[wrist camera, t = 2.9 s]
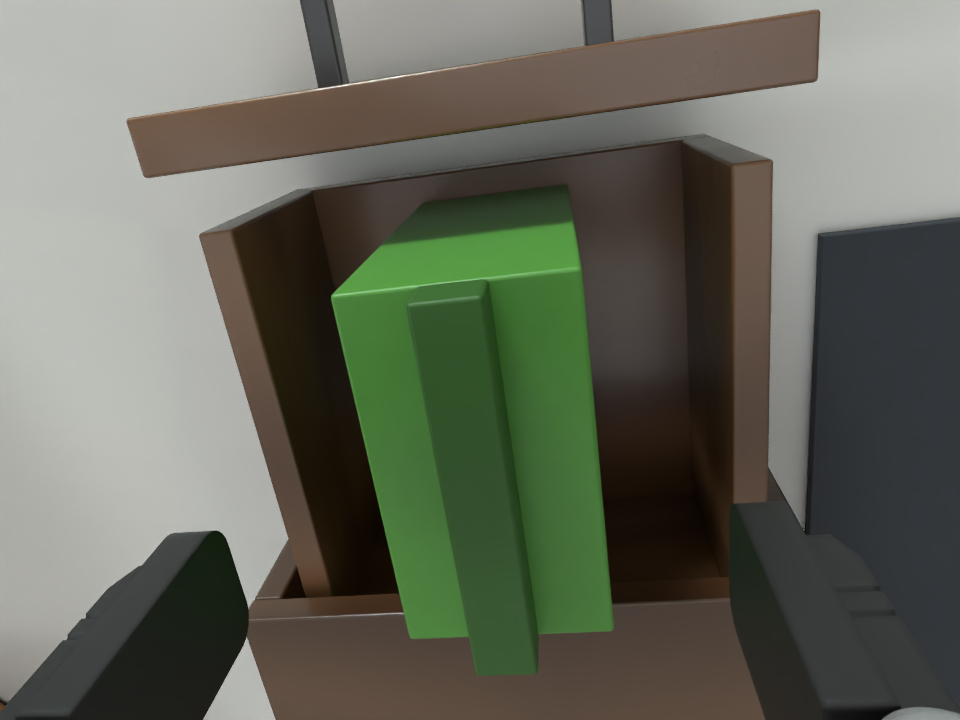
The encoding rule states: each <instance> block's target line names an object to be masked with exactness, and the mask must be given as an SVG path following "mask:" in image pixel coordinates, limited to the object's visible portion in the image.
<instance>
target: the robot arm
mask: <svg viewBox="0 0 960 720" xmlns="http://www.w3.org/2000/svg"><path fill="white" fill-rule="evenodd" d="M729 595H730V604H731V611H732V617H733V621H734V626H735V630H736V633H737V636H738V639H739V642H740V645H741V648H742V651H743V654H744V657H745V660H746V663H747V666H748V669H749V672H750V675H751V678H752V681H753V684H754V687H755V690H756V693H757V696H758V699H759V702H760V705H761V708H762V711H763V714H764V717H765V720H960V709H959V707H958V705H957V704H956V702H955V701H954V699H953V698H952V696H951V695H950V693H949V692H948V690H947V689H946V687H945V685H944V684H943V682H942V681H941V679H940V678H939V676H938V675H937V673H936V672H935V670H934V669H933V667H932V665H931V664H930V662H929V661H928V659H927V658H926V656H925V655H924V653H923V652H922V650H921V648H920V647H919V645H918V644H917V642H916V641H915V639H914V638H913V636H912V635H911V633H910V632H909V630H908V628H907V627H906V625H905V624H904V622H903V621H902V619H901V618H900V616H897V615H896V613H895V608H894V607H893V605H892V604H891V602H890V601H889V599H888V598H887V596H886V595H885V593H884V591H881V590H880V585H879V584H878V582H877V581H876V579H875V578H874V576H873V575H872V573H871V571H870V570H869V568H868V567H867V565H866V564H865V562H864V561H863V559H862V558H861V557H860V556H859V555H858V554H856V553H855V552H854V551H852V550H851V549H849V548H848V547H847V546H845V545H844V544H843V543H841V542H840V541H839V540H837V539H836V538H835V537H833V536H832V535H831V534H824V535H805V533H804V531H803V530H802V528H801V526H800V524H799V522H798V521H797V519H796V517H795V515H794V514H793V512H792V510H791V508H790V506H789V505H788V504H787V502H785V501H771V502H753V503H735V504H731V506H730V510H729ZM248 626H249V610H248V605H247V601H246V598H245V595H244V592H243V589H242V586H241V583H240V580H239V576H238V573H237V570H236V567H235V564H234V561H233V558H232V555H231V552H230V548H229V545H228V543H227V540H226V538H225V536H224V535H223V534H222V533H221V532H219V531H203V532H185V533H173V534H170V535H169V536H167V537H166V538H165V539H164V540H163V541H162V543H161V544H160V545H159V546H158V547H157V548H156V550H155V551H154V552H153V553H152V554H151V556H150V557H149V558H148V559H147V560H146V561H145V563H144V564H143V565H142V566H138V567H137V568H136V569H134V570H133V571H132V572H130V573H129V574H127V575H126V576H125V577H123V578H122V579H121V580H119V581H118V582H116V583H115V584H114V585H112V586H111V587H110V588H108V589H107V590H106V592H105V593H104V594H103V595H102V596H101V597H100V598H99V600H98V601H97V602H96V603H95V604H94V605H93V606H92V608H91V609H90V610H89V611H88V612H87V613H86V618H85V619H81V620H80V621H79V622H78V624H77V625H76V626H75V627H74V628H73V629H72V630H71V632H70V633H69V634H68V638H67V640H66V641H62V642H61V643H60V644H59V645H58V646H57V648H56V649H55V650H54V651H53V652H52V653H51V654H50V656H49V657H48V658H47V659H46V660H45V661H44V662H43V664H42V665H41V666H40V667H39V668H38V669H37V670H36V672H35V673H34V674H33V675H32V676H31V677H30V678H29V680H28V681H27V682H26V683H25V684H24V685H23V687H22V688H21V689H20V690H19V691H18V692H17V693H16V695H15V696H14V697H13V698H12V699H11V700H10V701H9V703H8V704H7V705H6V706H5V707H4V708H3V709H2V711H1V712H0V720H203V718H204V717H205V715H206V713H207V711H208V709H209V707H210V706H211V704H212V702H213V700H214V698H215V696H216V695H217V693H218V691H219V689H220V687H221V685H222V684H223V682H224V680H225V678H226V676H227V674H228V673H229V671H230V669H231V667H232V665H233V663H234V662H235V660H236V658H237V656H238V654H239V653H240V651H241V649H242V647H243V645H244V642H245V640H246V636H247V632H248Z"/></svg>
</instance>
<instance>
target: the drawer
mask: <svg viewBox="0 0 960 720" xmlns="http://www.w3.org/2000/svg"><path fill="white" fill-rule="evenodd" d="M300 4H301V8H302V13H303V18H304V22H305V27H306V32H307V36H308V41H309V46H310V50H311V55H312V60H313V64H314V69H315V74H316V78H317V83H318V88H317V89H310V90H304V91H298V92H291V93H285V94H279V95H272V96H266V97H260V98H253V99H247V100H241V101H234V102H228V103H222V104H215V105H209V106H203V107H196V108H190V109H184V110H178V111H171V112H165V113H159V114H152V115H146V116H140V117H133V118H129V119H127V125H128V128H129V131H130V134H131V137H132V141H133V144H134V147H135V150H136V153H137V156H138V160H139V163H140V166H141V169H142V172H143V175H144V177H146V178H152V177H159V176H166V175H173V174H180V173H187V172H194V171H201V170H208V169H215V168H222V167H229V166H236V165H243V164H249V163H256V162H263V161H270V160H277V159H284V158H291V157H298V156H305V155H312V154H319V153H326V152H333V151H340V150H347V149H354V148H360V147H367V146H374V145H381V144H388V143H395V142H402V141H409V140H416V139H423V138H430V137H437V136H444V135H451V134H458V133H465V132H471V131H478V130H485V129H492V128H499V127H506V126H513V125H520V124H527V123H534V122H541V121H548V120H555V119H562V118H569V117H575V116H582V115H589V114H596V113H603V112H610V111H617V110H624V109H631V108H638V107H645V106H652V105H659V104H666V103H673V102H680V101H686V100H693V99H700V98H707V97H714V96H721V95H728V94H735V93H742V92H749V91H756V90H763V89H770V88H777V87H784V86H791V85H797V84H804V83H811V82H815V81H817V78H818V60H819V34H820V11H819V10H810V11H804V12H797V13H791V14H785V15H778V16H772V17H766V18H759V19H753V20H747V21H740V22H734V23H728V24H721V25H715V26H709V27H702V28H696V29H690V30H683V31H677V32H671V33H664V34H658V35H652V36H646V37H639V38H633V39H627V40H620V41H614V36H613V20H612V4H611V0H581V9H582V22H583V35H584V46H582V47H576V48H570V49H563V50H557V51H551V52H544V53H538V54H532V55H525V56H519V57H513V58H506V59H500V60H494V61H487V62H481V63H475V64H468V65H462V66H456V67H449V68H443V69H437V70H430V71H424V72H418V73H412V74H405V75H399V76H393V77H386V78H380V79H374V80H367V81H361V82H355V83H349V80H348V75H347V70H346V64H345V59H344V54H343V49H342V44H341V39H340V34H339V29H338V24H337V19H336V14H335V9H334V4H333V0H300ZM564 184H565V185H567V186H568V189H569V195H570V200H571V206H572V212H573V218H574V224H575V230H576V236H577V241H578V247H579V253H580V259H581V265H582V271H583V282H584V294H585V305H586V316H587V327H588V339H589V350H590V361H591V373H592V384H593V395H594V406H595V418H596V429H597V440H598V451H599V463H600V474H601V485H602V497H603V508H604V519H605V530H606V542H607V553H608V564H609V575H610V583H617V582H637V581H657V580H678V579H698V578H718V577H729V510H730V506H731V504H735V503H753V502H767V497H768V435H769V374H770V313H771V252H772V191H773V162H772V160H771V159H768V158H765V157H763V156H760V155H757V154H755V153H752V152H750V151H747V150H744V149H742V148H739V147H736V146H734V145H731V144H729V143H726V142H723V141H721V140H718V139H716V138H713V137H711V136H708V135H706V134H700V135H692V136H685V137H678V138H670V139H663V140H656V141H649V142H641V143H634V144H627V145H619V146H612V147H605V148H598V149H590V150H583V151H576V152H568V153H561V154H554V155H546V156H539V157H532V158H525V159H517V160H510V161H503V162H495V163H488V164H481V165H474V166H466V167H459V168H452V169H444V170H437V171H430V172H422V173H415V174H408V175H401V176H393V177H386V178H379V179H371V180H364V181H357V182H350V183H342V184H335V185H328V186H320V187H313V188H306V189H298V190H295V191H293V192H291V193H289V194H287V195H284V196H282V197H280V198H278V199H276V200H273V201H271V202H269V203H267V204H265V205H262V206H260V207H258V208H256V209H254V210H251V211H249V212H247V213H245V214H243V215H240V216H238V217H236V218H234V219H232V220H229V221H227V222H225V223H223V224H221V225H218V226H216V227H214V228H212V229H210V230H207V231H205V232H203V233H201V234H200V235H199V238H200V241H201V245H202V248H203V251H204V255H205V258H206V261H207V265H208V268H209V272H210V275H211V278H212V282H213V285H214V288H215V292H216V295H217V299H218V302H219V305H220V309H221V312H222V315H223V319H224V322H225V326H226V329H227V332H228V336H229V339H230V342H231V346H232V349H233V353H234V356H235V359H236V363H237V366H238V369H239V373H240V376H241V380H242V383H243V386H244V390H245V393H246V396H247V400H248V403H249V406H250V410H251V413H252V417H253V420H254V423H255V427H256V430H257V433H258V437H259V440H260V444H261V447H262V450H263V454H264V457H265V460H266V464H267V467H268V471H269V474H270V477H271V481H272V484H273V487H274V491H275V494H276V498H277V501H278V504H279V508H280V511H281V514H282V518H283V521H284V525H285V528H286V531H287V535H288V538H289V541H290V545H291V548H292V552H293V555H294V558H295V562H296V565H297V568H298V572H299V575H300V578H301V582H302V585H303V589H304V592H305V595H306V598H314V597H334V596H354V595H374V594H394V593H399V590H398V585H397V581H396V577H395V572H394V568H393V564H392V559H391V555H390V551H389V547H388V542H387V538H386V534H385V529H384V525H383V521H382V516H381V512H380V508H379V503H378V499H377V495H376V491H375V486H374V482H373V478H372V473H371V469H370V465H369V460H368V456H367V452H366V448H365V443H364V439H363V435H362V430H361V426H360V422H359V417H358V413H357V409H356V405H355V400H354V396H353V392H352V387H351V383H350V379H349V374H348V370H347V366H346V361H345V357H344V353H343V349H342V344H341V340H340V336H339V331H338V327H337V323H336V318H335V314H334V310H333V306H332V301H331V295H332V294H333V293H334V292H335V291H336V290H337V289H338V288H339V287H340V286H341V285H342V284H343V283H344V282H345V281H346V280H347V279H348V278H349V277H350V276H351V275H352V274H353V273H354V272H355V271H356V270H357V269H358V268H359V267H360V266H361V265H362V264H363V263H364V262H365V261H366V260H367V259H368V258H369V257H370V256H371V255H372V254H373V253H374V252H375V251H376V250H377V249H378V248H379V247H380V246H381V245H382V244H383V243H384V242H385V241H386V240H387V239H388V238H389V236H390V235H391V234H392V233H393V232H394V231H395V230H396V229H397V228H398V227H399V226H400V225H401V224H402V223H403V222H404V221H405V220H406V219H407V218H408V217H409V216H410V215H411V214H412V213H413V212H414V211H415V210H416V209H417V208H418V207H419V206H420V205H421V204H422V203H426V202H433V201H441V200H449V199H456V198H464V197H472V196H479V195H487V194H495V193H502V192H510V191H518V190H525V189H533V188H541V187H548V186H556V185H564Z"/></svg>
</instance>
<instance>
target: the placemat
mask: <svg viewBox="0 0 960 720" xmlns="http://www.w3.org/2000/svg"><path fill="white" fill-rule="evenodd" d="M824 534H831V535H832V536H833V537H835V538H836V539H837V540H839V541H840V542H841V543H843V544H844V545H845V546H847V547H848V548H849V549H851V550H852V551H854V552H855V553H856V554H858V555H859V556H860V557H861V558H862V559H863V561H864V562H865V564H866V565H867V567H868V568H869V570H870V571H871V573H872V575H873V576H874V578H875V579H876V581H877V582H878V584H879V585H880V590H881V591H884V593H885V595H886V596H887V598H888V599H889V601H890V602H891V604H892V605H893V607H894V608H895V613H896V615H897V616H900V618H901V619H902V621H903V622H904V624H905V625H906V627H907V628H908V630H909V632H910V633H911V635H912V636H913V638H914V639H915V641H916V642H917V644H918V645H919V647H920V648H921V650H922V652H923V653H924V655H925V656H926V658H927V659H928V661H929V662H930V664H931V665H932V667H933V669H934V670H935V672H936V673H937V675H938V676H939V678H940V679H941V681H942V682H943V684H944V685H945V687H946V689H947V690H948V692H949V693H950V695H951V696H952V698H953V699H954V701H955V702H956V704H957V705H958V707H959V709H960V218H951V219H943V220H934V221H925V222H917V223H908V224H899V225H890V226H882V227H873V228H864V229H856V230H847V231H838V232H829V233H821V234H819V235H818V255H817V279H816V303H815V327H814V351H813V375H812V399H811V423H810V446H809V470H808V494H807V518H806V535H824Z"/></svg>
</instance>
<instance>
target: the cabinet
mask: <svg viewBox="0 0 960 720" xmlns="http://www.w3.org/2000/svg"><path fill="white" fill-rule="evenodd" d="M771 501H785V502H787V500H786V498H785V496H784V495H783V493H782V491H781V489H780V487H779V486H778V484H777V482H776V480H775V478H774V477H773V475H772V473H771V471H770V470H769V468H768V497H767V502H771ZM787 504H788V502H787ZM788 505H789V504H788ZM789 506H790V505H789ZM790 508H791V507H790ZM791 510H792V509H791ZM792 512H793V511H792ZM793 514H794V513H793ZM794 515H795V514H794ZM795 517H796V516H795ZM796 519H797V518H796ZM797 521H798V520H797ZM798 522H799V521H798ZM799 524H800V523H799ZM800 526H801V525H800ZM801 528H802V527H801ZM802 530H803V529H802ZM803 531H804V530H803ZM804 533H805V532H804ZM805 535H806V534H805ZM610 587H611V598H612V609H613V621H614V628H613V630H612V631H607V632H581V633H556V634H539V649H538V671H537V673H536V674H531V675H499V676H478V675H477V674H476V672H475V667H474V661H473V656H472V651H471V646H470V640H469V637H455V638H430V639H411V638H410V636H409V633H408V628H407V624H406V620H405V615H404V611H403V607H402V602H401V598H400V594H399V593H394V594H374V595H354V596H334V597H314V598H306V595H305V592H304V589H303V585H302V582H301V578H300V575H299V572H298V568H297V565H296V562H295V558H294V555H293V552H292V548H291V545H290V541H289V539H288V541H287V542H286V544H285V546H284V548H283V550H282V551H281V553H280V555H279V557H278V558H277V560H276V562H275V564H274V566H273V567H272V569H271V571H270V573H269V575H268V576H267V578H266V580H265V582H264V583H263V585H262V587H261V589H260V591H259V592H258V594H257V596H256V598H255V601H253V602H252V604H251V606H250V607H249V609H248V610H249V626H248V632H247V638H248V641H249V644H250V647H251V650H252V652H253V655H254V658H255V661H256V664H257V667H258V670H259V673H260V676H261V678H262V681H263V684H264V687H265V690H266V693H267V696H268V699H269V702H270V704H271V707H272V710H273V713H274V716H275V719H276V720H765V717H764V714H763V711H762V708H761V705H760V702H759V699H758V696H757V693H756V690H755V687H754V684H753V681H752V678H751V675H750V672H749V669H748V666H747V663H746V660H745V657H744V654H743V651H742V648H741V645H740V642H739V639H738V636H737V633H736V630H735V626H734V621H733V617H732V611H731V604H730V595H729V577H718V578H698V579H678V580H657V581H637V582H617V583H610Z"/></svg>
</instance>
